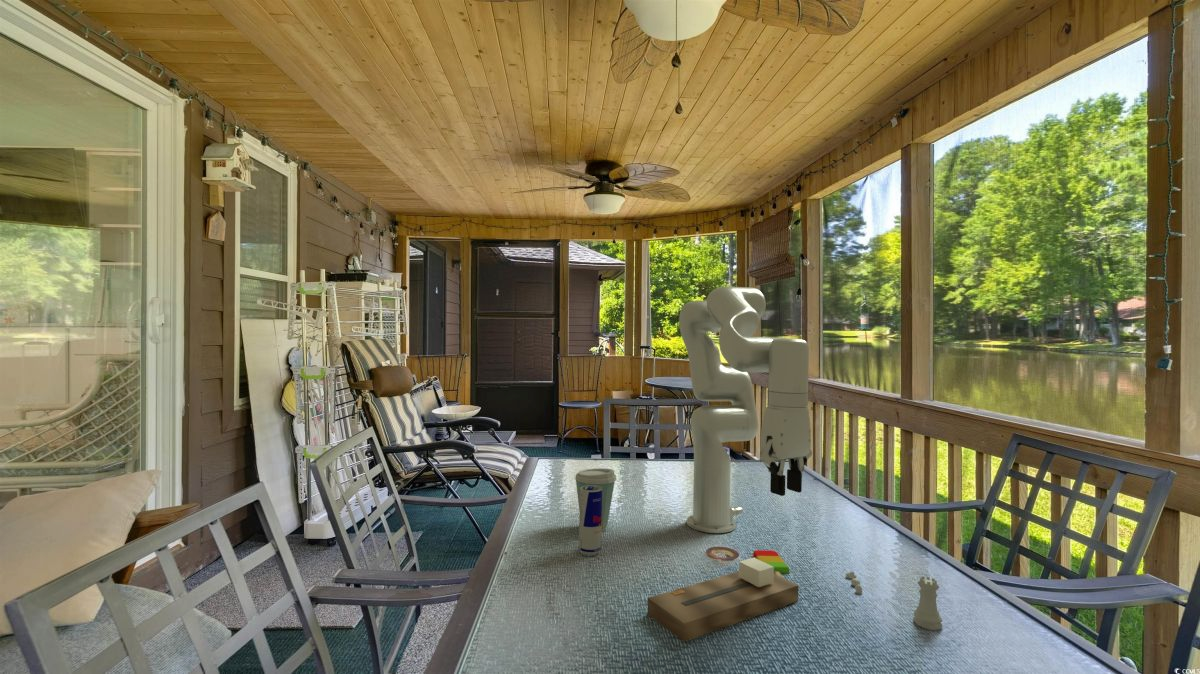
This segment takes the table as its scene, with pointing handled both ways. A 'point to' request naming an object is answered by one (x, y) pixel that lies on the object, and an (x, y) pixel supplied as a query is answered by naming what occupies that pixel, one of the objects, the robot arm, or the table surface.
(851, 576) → the game pieces
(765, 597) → the console
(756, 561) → the fader knob
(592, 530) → the beverage can
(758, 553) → the popsicle
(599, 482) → the disposable coffee cup
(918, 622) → the rook chess piece
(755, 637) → the table surface
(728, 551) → the table surface
